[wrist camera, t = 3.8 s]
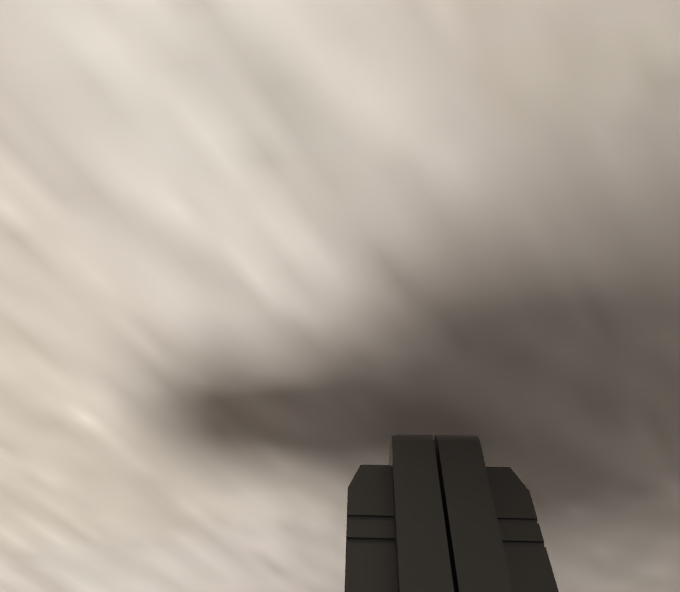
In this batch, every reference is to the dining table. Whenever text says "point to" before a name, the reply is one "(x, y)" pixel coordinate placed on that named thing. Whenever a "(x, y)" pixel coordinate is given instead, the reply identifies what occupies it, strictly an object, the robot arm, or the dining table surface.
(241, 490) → the dining table surface
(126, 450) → the dining table surface
